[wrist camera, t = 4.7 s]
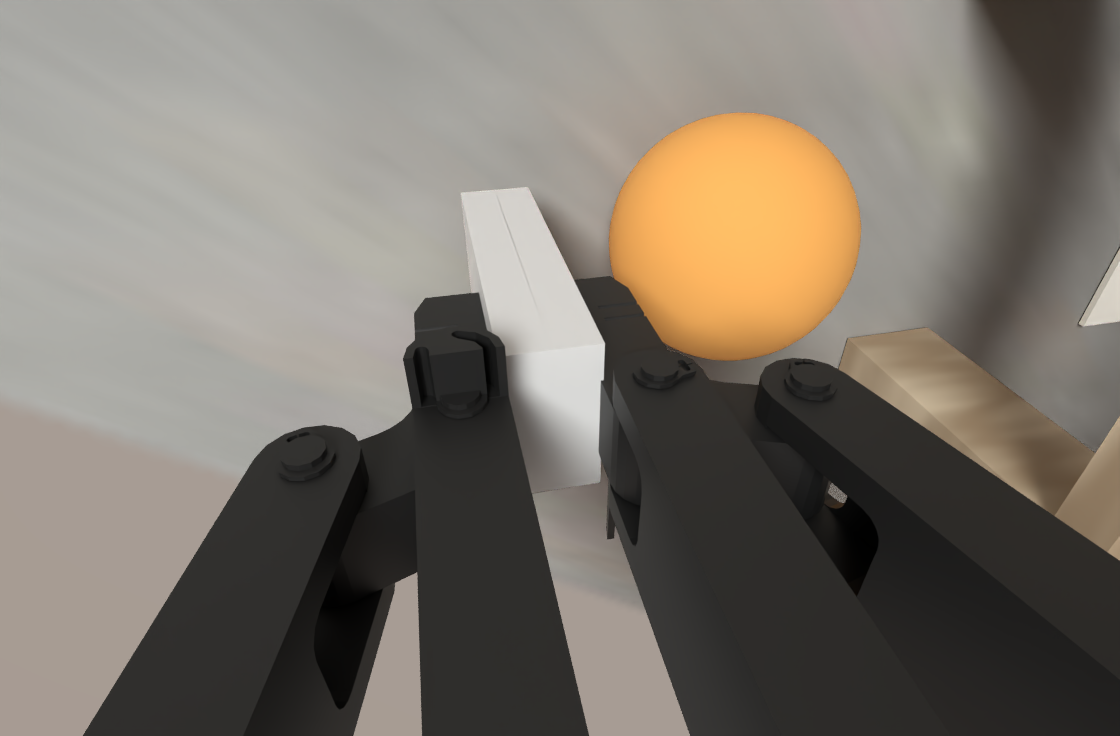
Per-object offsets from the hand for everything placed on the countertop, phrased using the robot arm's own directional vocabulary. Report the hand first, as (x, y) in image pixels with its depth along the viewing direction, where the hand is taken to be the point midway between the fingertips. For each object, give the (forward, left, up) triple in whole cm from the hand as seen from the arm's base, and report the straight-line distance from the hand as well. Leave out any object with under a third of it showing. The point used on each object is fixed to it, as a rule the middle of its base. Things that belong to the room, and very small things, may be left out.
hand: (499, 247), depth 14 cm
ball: (-5, 0, +1) cm, 5 cm away
